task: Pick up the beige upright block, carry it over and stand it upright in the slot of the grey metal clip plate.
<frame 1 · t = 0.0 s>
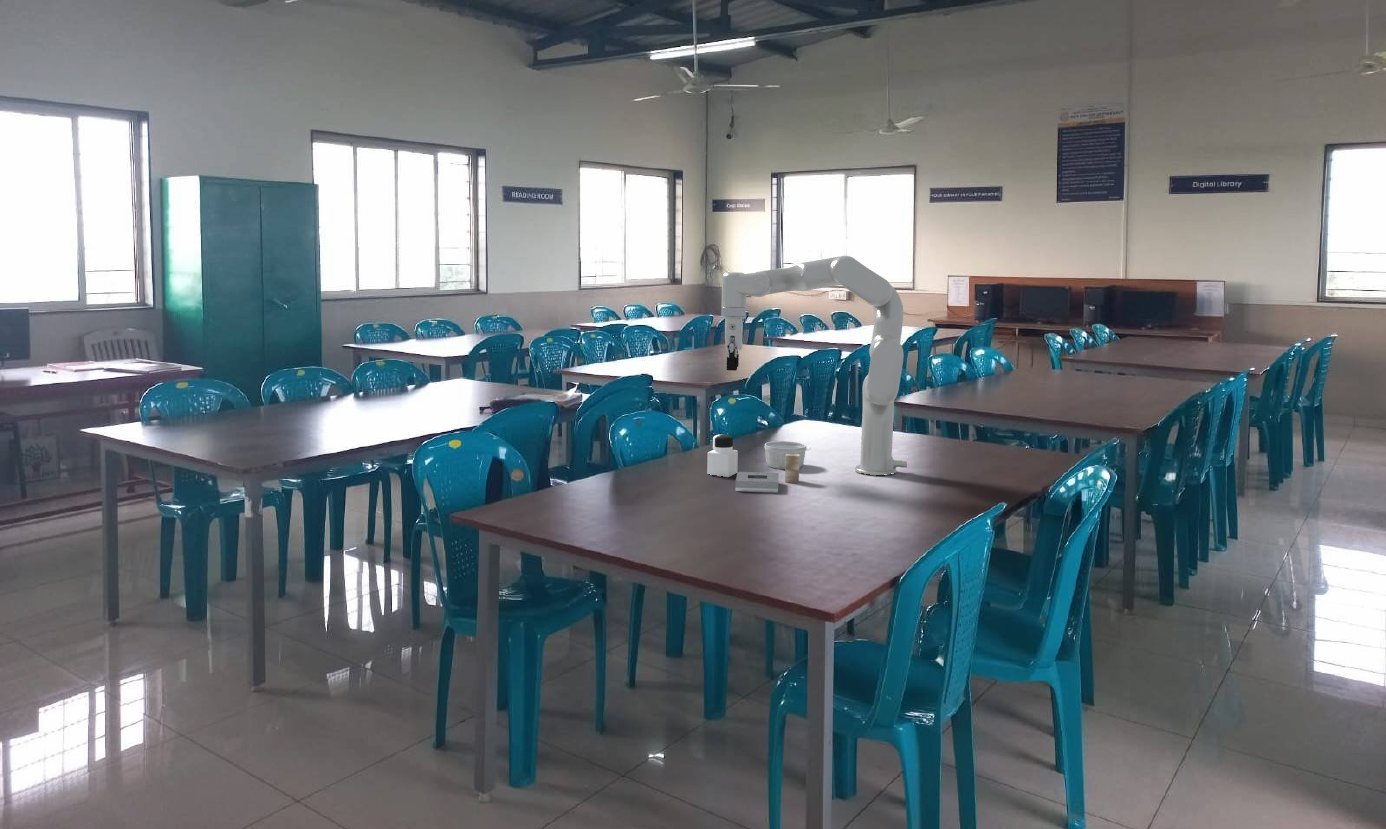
hand: (732, 368, 318), 31 cm above the table, tool pointing down, fingers open, 9 cm apart
clip plate: (757, 487, 297), on the table
beige upright block: (791, 481, 305), on the table
medicine bottle: (722, 474, 314), on the table
ramekin: (784, 466, 327), on the table
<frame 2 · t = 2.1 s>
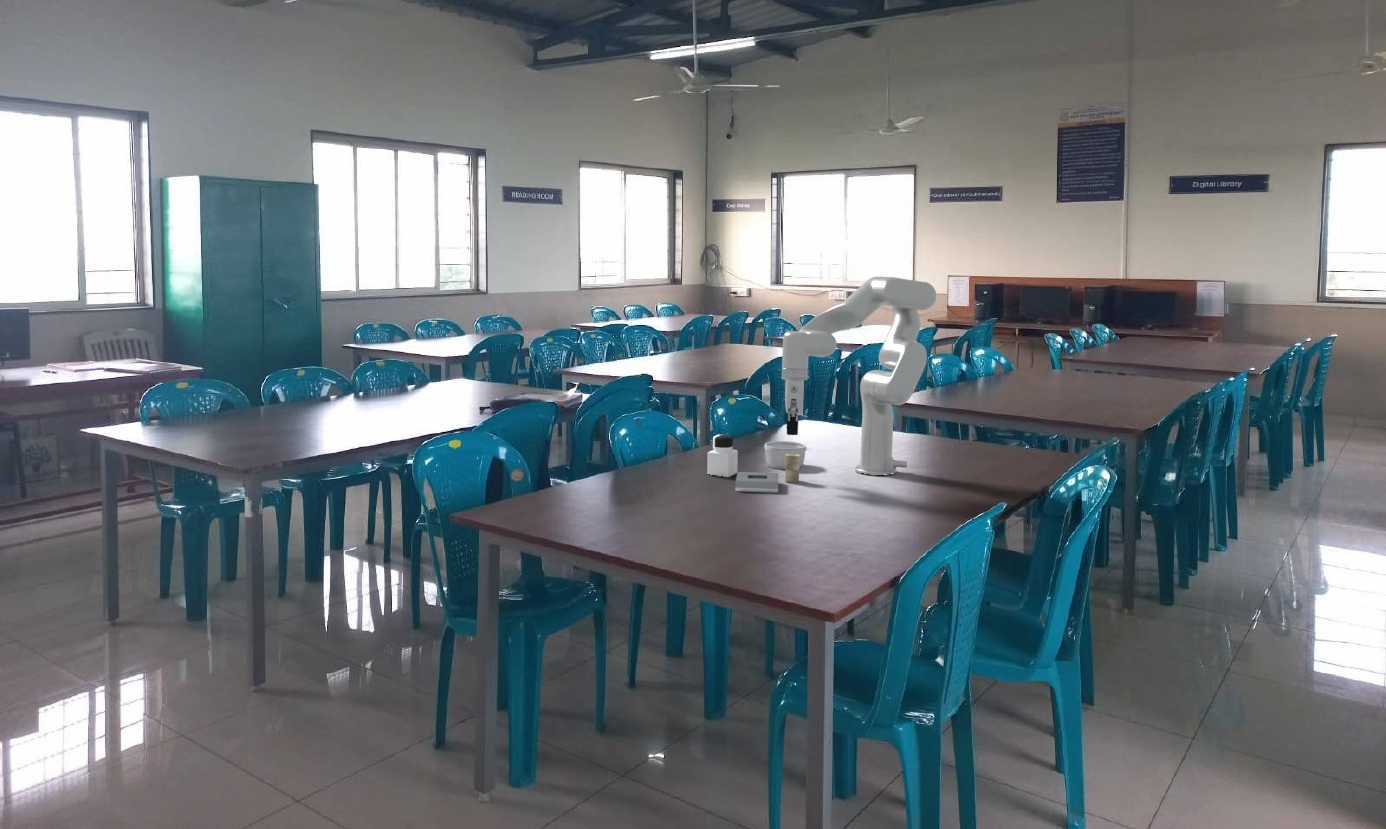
hand: (792, 432, 303), 15 cm above the table, tool pointing down, fingers open, 9 cm apart
nothing on the table moved.
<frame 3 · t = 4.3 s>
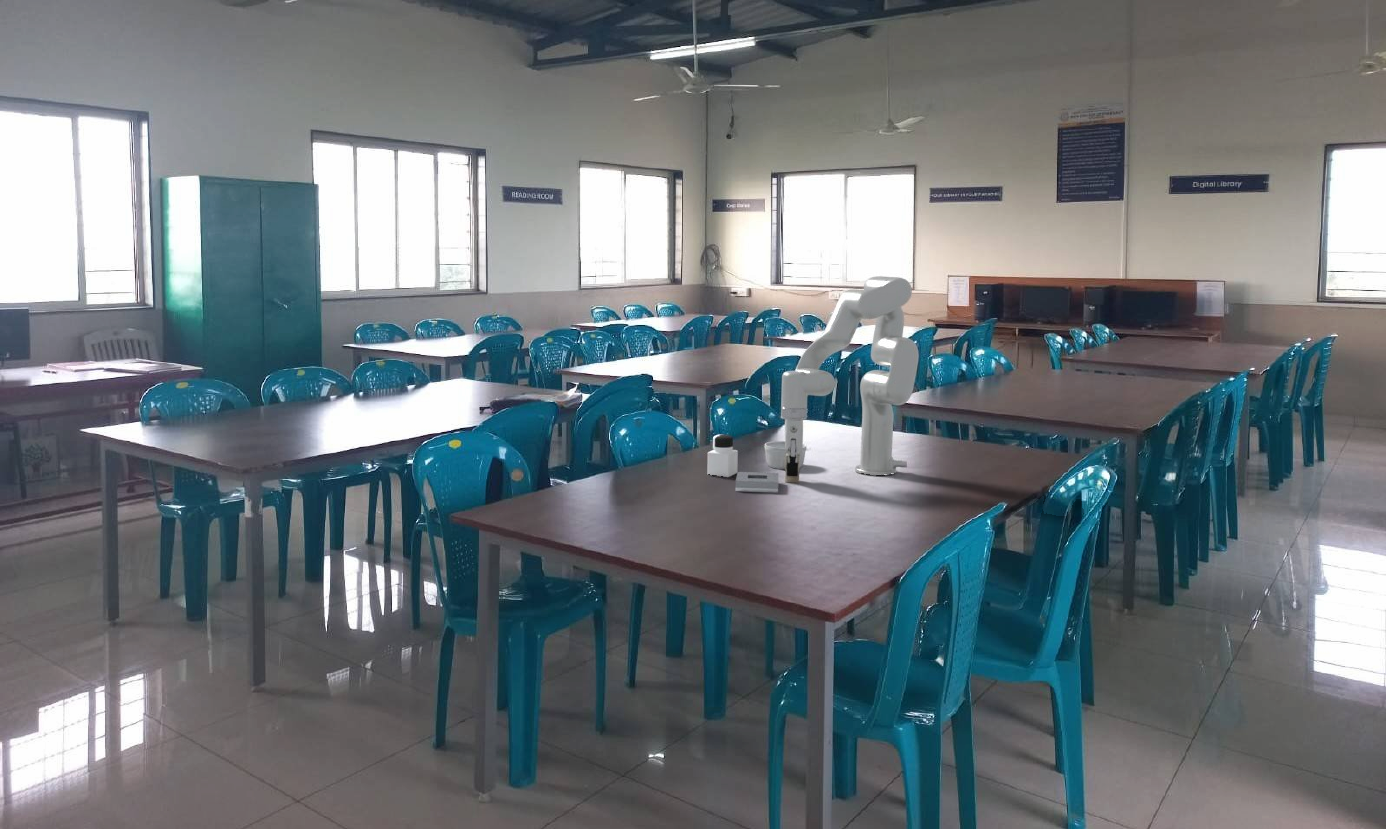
hand: (792, 474, 305), 2 cm above the table, tool pointing down, fingers closed on beige upright block, 3 cm apart
beige upright block: (791, 481, 305), on the table, touching gripper
everything else where it was.
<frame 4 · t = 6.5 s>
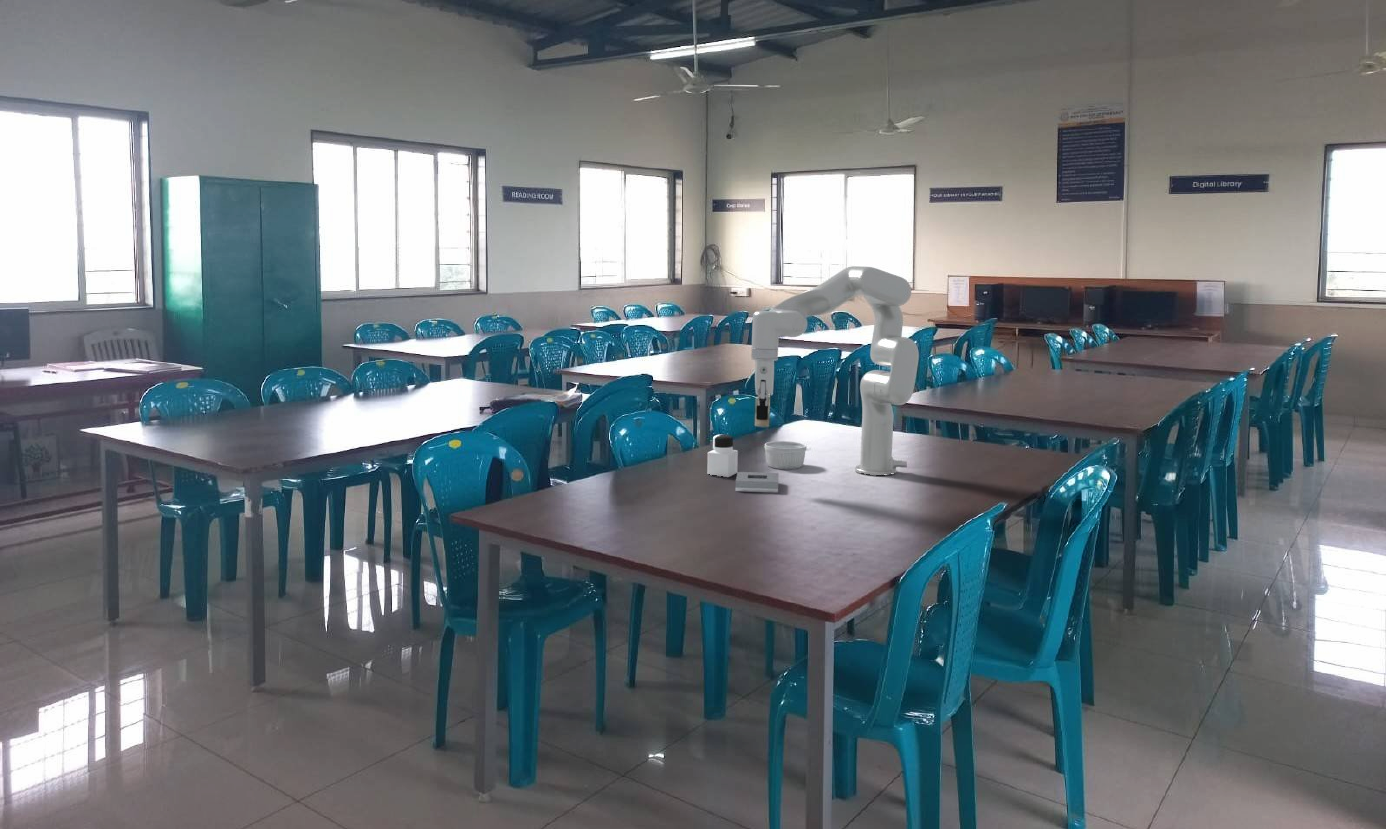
hand: (762, 418, 295), 20 cm above the table, tool pointing down, fingers closed on beige upright block, 3 cm apart
beige upright block: (761, 425, 295), point 18 cm above the table, touching gripper
everything else where it was.
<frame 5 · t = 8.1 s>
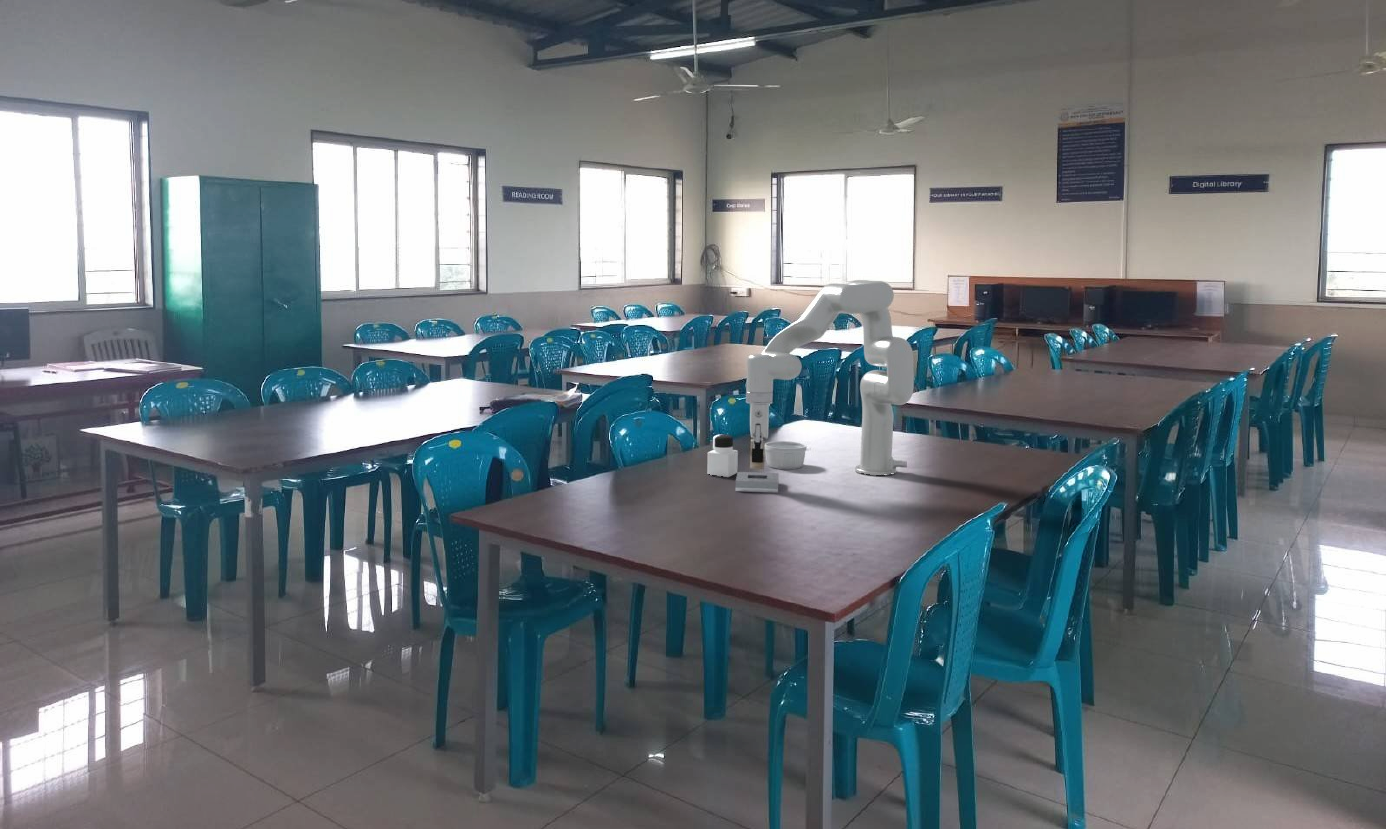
hand: (757, 460, 296), 8 cm above the table, tool pointing down, fingers closed on beige upright block, 3 cm apart
beige upright block: (757, 467, 296), point 6 cm above the table, touching gripper
everything else where it was.
when the fingers open (4 cm above the table, at t = 9.1 s): beige upright block stays where it is, resting on clip plate.
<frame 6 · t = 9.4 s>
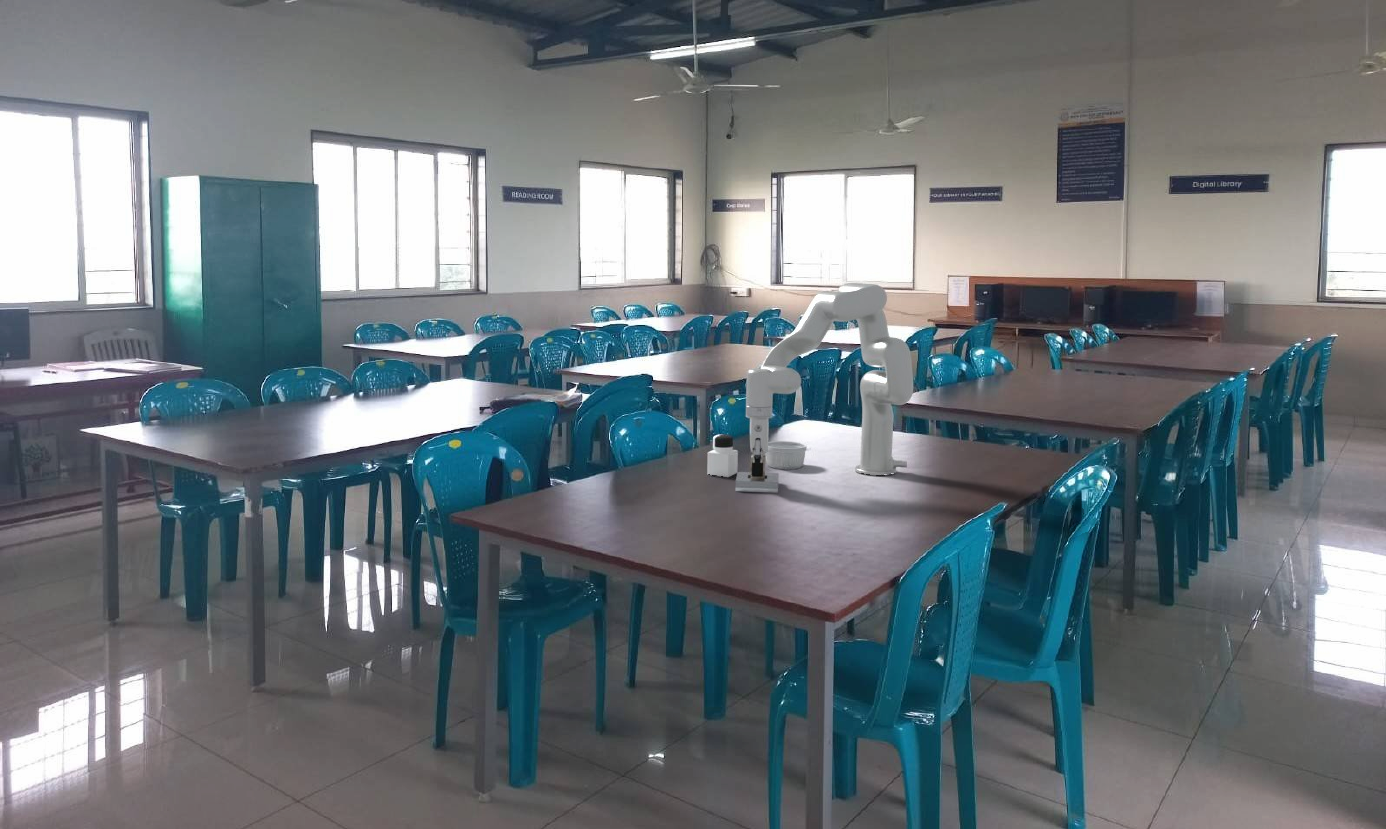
hand: (757, 473, 296), 4 cm above the table, tool pointing down, fingers open, 5 cm apart
beige upright block: (757, 483, 297), point 1 cm above the table, touching clip plate
everything else where it was.
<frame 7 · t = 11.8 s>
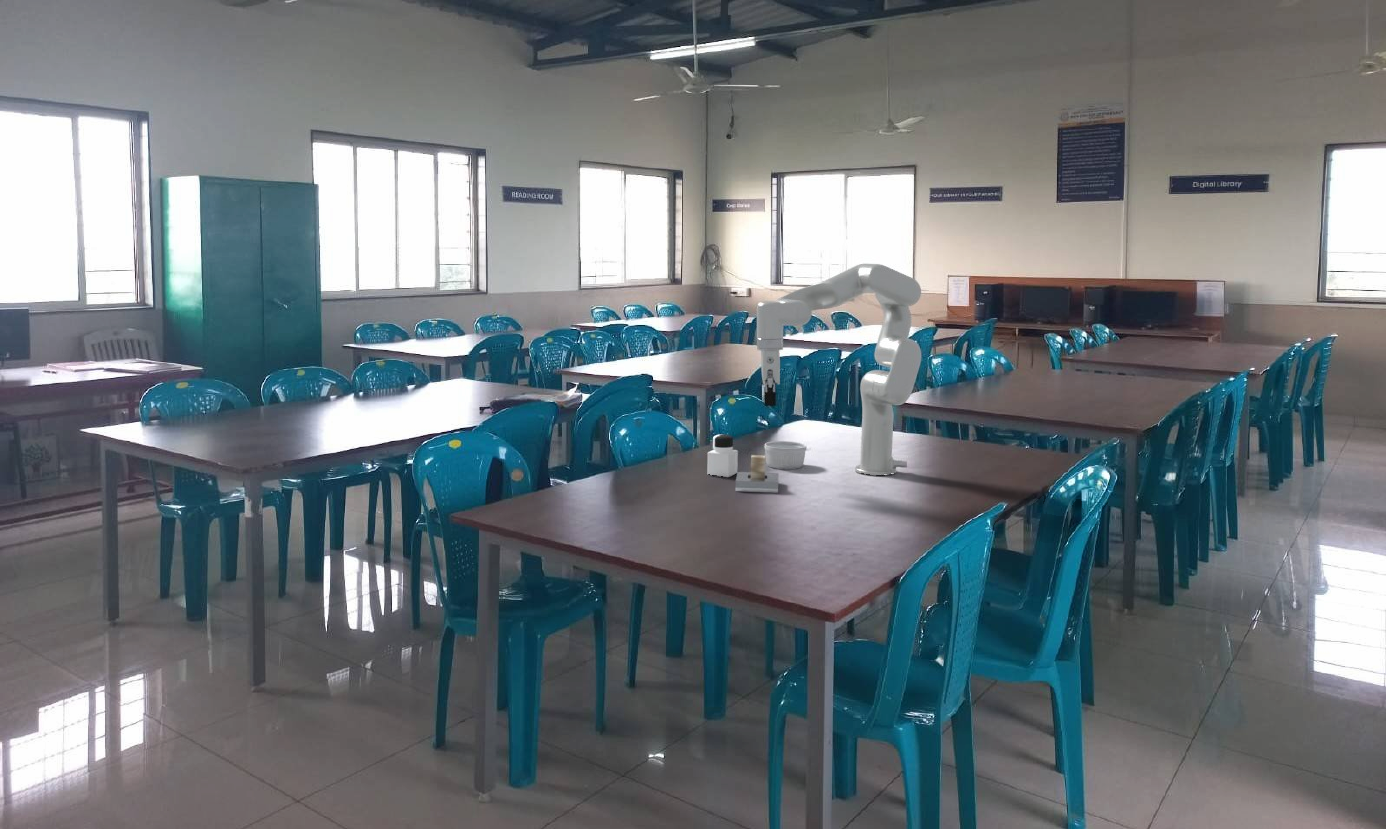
hand: (769, 403, 300), 24 cm above the table, tool pointing down, fingers open, 9 cm apart
nothing on the table moved.
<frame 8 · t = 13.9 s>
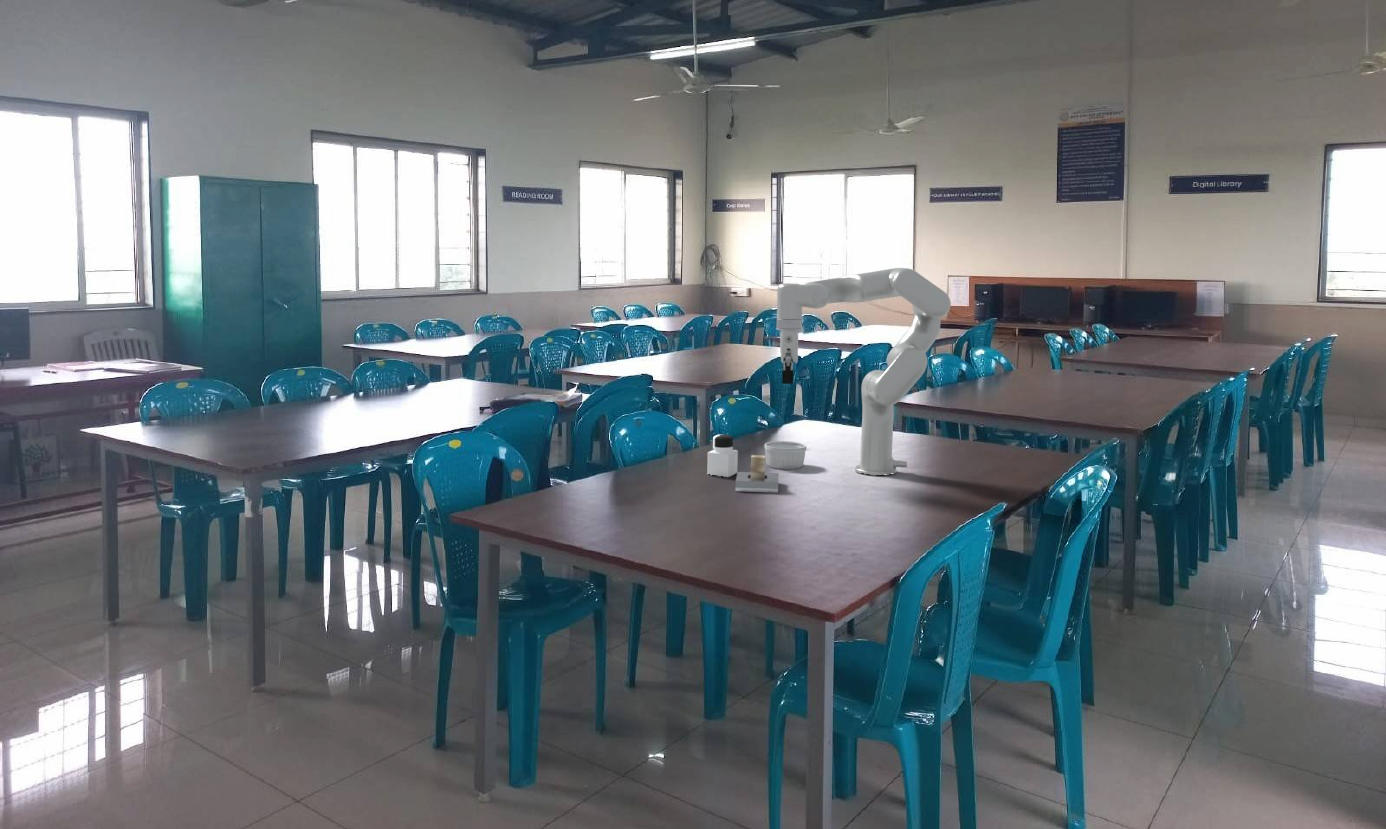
hand: (787, 381, 312), 28 cm above the table, tool pointing down, fingers open, 9 cm apart
nothing on the table moved.
at the end: beige upright block 0.1 cm off-centre on the clip plate, point 1.0 cm above the clip plate's base; beige upright block tilted 0°; the gripper is holding nothing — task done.
